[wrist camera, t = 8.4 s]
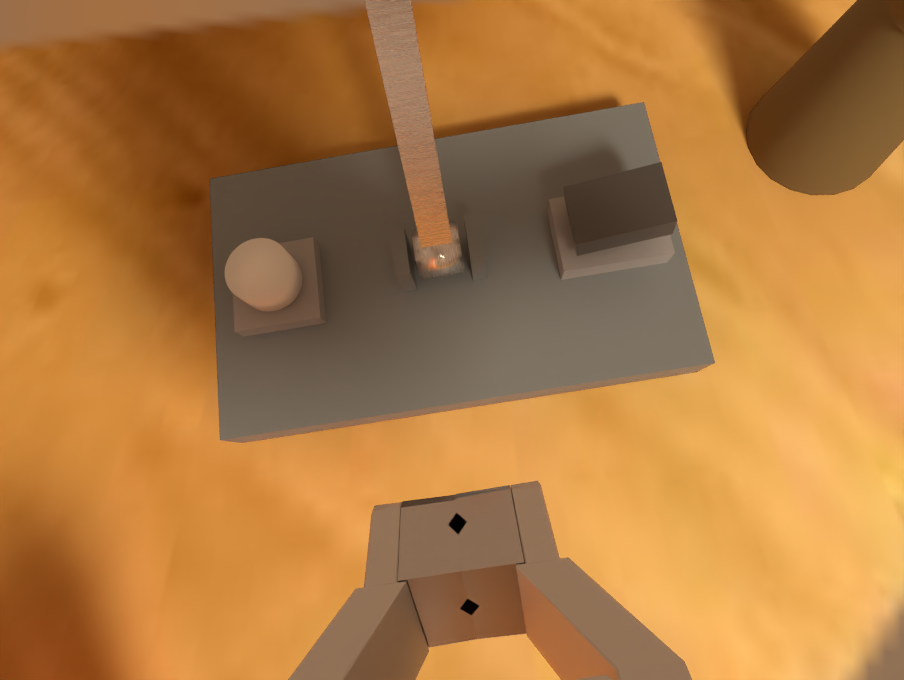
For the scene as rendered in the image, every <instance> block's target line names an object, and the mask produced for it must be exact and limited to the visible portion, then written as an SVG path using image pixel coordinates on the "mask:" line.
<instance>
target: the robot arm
mask: <svg viewBox="0 0 904 680" xmlns="http://www.w3.org/2000/svg"><path fill="white" fill-rule="evenodd" d="M526 633H527V636H528V638H529V639H530V640H531V641H532V643H533V644H534V645H535V647H536V648H537V649H538V650H539V652H540V653H541V654H542V656H543V657H544V658H545V659H546V661H547V662H548V663H549V664H550V666H551V667H552V668H553V670H554V671H555V672H556V673H557V675H558V676H559V677H560V678H561V680H692V678H691V676H690V674H689V671H688V669H687V666H686V664H685V662H684V661H683V660H682V659H681V658H680V657H679V656H678V655H677V654H675V653H674V652H673V651H672V650H671V649H670V648H669V647H668V646H667V645H665V644H664V643H663V642H662V641H661V640H660V639H659V638H658V637H656V636H655V635H654V634H653V633H652V632H651V631H650V630H649V629H648V628H646V627H645V626H644V625H643V624H642V623H641V622H640V621H639V620H638V619H636V618H635V617H634V616H633V615H632V614H631V613H630V612H629V611H627V610H626V609H625V608H624V607H623V606H622V605H621V604H620V603H619V602H617V601H616V600H615V599H614V598H613V597H612V596H611V595H610V594H609V593H607V592H606V591H605V590H604V589H603V588H602V587H601V586H600V585H598V584H597V583H596V582H595V581H594V580H593V579H592V578H591V577H590V576H588V575H587V574H586V573H585V572H584V571H583V570H582V569H581V568H580V567H578V566H577V565H576V564H575V563H574V562H573V561H572V560H571V559H569V558H559V554H558V551H557V547H556V543H555V539H554V535H553V531H552V527H551V523H550V519H549V516H548V512H547V508H546V504H545V500H544V496H543V492H542V488H541V485H540V483H539V482H538V481H534V482H528V483H521V484H515V485H511V488H510V485H508V486H502V487H496V488H490V489H484V490H478V491H472V492H466V493H460V494H456V495H450V496H442V497H435V498H427V499H419V500H411V501H403V502H399V503H391V504H384V505H376V506H375V507H374V509H373V511H372V514H371V524H370V534H369V543H368V553H367V563H366V572H365V582H364V587H363V588H357V589H355V590H354V592H353V593H352V594H351V596H350V597H349V598H348V600H347V601H346V602H345V604H344V605H343V606H342V608H341V609H340V610H339V612H338V613H337V615H336V616H335V617H334V619H333V620H332V621H331V623H330V624H329V625H328V627H327V628H326V629H325V631H324V632H323V633H322V635H321V636H320V637H319V639H318V640H317V642H316V643H315V644H314V646H313V647H312V648H311V650H310V651H309V652H308V654H307V655H306V656H305V658H304V659H303V660H302V662H301V663H300V665H299V666H298V667H297V669H296V670H295V671H294V673H293V674H292V675H291V677H290V678H289V679H288V680H415V679H416V677H417V675H418V673H419V671H420V669H421V667H422V664H423V662H424V660H425V658H426V656H427V654H428V652H429V649H428V647H434V646H439V645H445V644H451V643H457V642H463V641H469V640H474V639H482V638H491V637H500V636H508V635H517V634H526Z"/></svg>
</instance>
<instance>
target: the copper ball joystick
mask: <svg viewBox="0 0 904 680" xmlns="http://www.w3.org/2000/svg"><path fill="white" fill-rule="evenodd" d="M365 5H366V9H367V13H368V18H369V22H370V26H371V31H372V35H373V40H374V44H375V48H376V53H377V57H378V61H379V66H380V70H381V74H382V79H383V83H384V87H385V92H386V96H387V100H388V105H389V109H390V113H391V118H392V122H393V127H394V131H395V135H396V140H397V144H398V148H399V153H400V157H401V161H402V166H403V170H404V174H405V179H406V183H407V187H408V192H409V196H410V201H411V205H412V209H413V214H414V218H415V222H416V227H417V229H416V230H412V240H413V248H414V254H415V259H416V264H417V269H418V273H419V277H420V279H421V280H422V279H428V278H434V277H440V276H446V275H452V274H458V273H464V272H465V271H464V264H463V258H462V252H461V245H460V239H459V233H458V227H457V223H451V224H449V219H448V213H447V207H446V202H445V196H444V190H443V184H442V178H441V172H440V167H439V161H438V155H437V149H436V143H435V137H434V132H433V126H432V120H431V114H430V108H429V102H428V97H427V91H426V85H425V79H424V73H423V67H422V62H421V56H420V50H419V44H418V38H417V32H416V27H415V21H414V15H413V9H412V3H411V0H365Z"/></svg>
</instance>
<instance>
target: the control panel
mask: <svg viewBox="0 0 904 680" xmlns="http://www.w3.org/2000/svg"><path fill="white" fill-rule="evenodd" d="M435 143H436V149H437V155H438V161H439V167H440V172H441V178H442V184H443V190H444V196H445V202H446V207H447V213H448V219H449V224H451V223H457V227H458V233H459V239H460V245H461V252H462V258H463V264H464V271H465V272H464V273H458V274H452V275H446V276H440V277H434V278H428V279H422V280H421V279H420V277H419V273H418V269H417V264H416V259H415V254H414V248H413V240H412V230H416V229H417V227H416V222H415V218H414V214H413V209H412V205H411V201H410V196H409V192H408V187H407V183H406V179H405V174H404V170H403V166H402V161H401V157H400V153H399V148H398V146H393V147H387V148H381V149H376V150H370V151H364V152H359V153H353V154H347V155H342V156H336V157H330V158H325V159H319V160H313V161H308V162H302V163H296V164H291V165H285V166H279V167H274V168H268V169H262V170H257V171H251V172H245V173H240V174H234V175H228V176H223V177H217V178H211V179H210V201H211V226H212V252H213V277H214V302H215V327H216V353H217V378H218V403H219V429H220V440H222V441H230V442H239V443H245V442H251V441H257V440H264V439H270V438H277V437H283V436H289V435H296V434H302V433H309V432H315V431H322V430H328V429H334V428H341V427H347V426H354V425H360V424H366V423H373V422H379V421H386V420H392V419H398V418H405V417H411V416H418V415H424V414H430V413H437V412H443V411H450V410H456V409H463V408H469V407H475V406H482V405H488V404H495V403H501V402H507V401H514V400H520V399H527V398H533V397H539V396H546V395H552V394H559V393H565V392H571V391H578V390H584V389H591V388H597V387H603V386H610V385H616V384H623V383H629V382H636V381H642V380H648V379H655V378H661V377H668V376H674V375H680V374H687V373H693V372H698V371H700V370H702V369H704V368H706V367H708V366H710V365H712V364H714V363H715V361H714V358H713V354H712V350H711V347H710V343H709V339H708V335H707V332H706V328H705V324H704V321H703V317H702V313H701V310H700V306H699V302H698V299H697V295H696V291H695V288H694V284H693V280H692V277H691V273H690V269H689V266H688V262H687V258H686V255H685V251H684V247H683V244H682V240H681V236H680V233H679V229H678V225H677V223H676V226H675V229H674V231H673V234H671V235H666V236H662V237H658V238H653V239H649V240H644V241H640V242H636V243H631V244H627V245H623V246H618V247H614V248H609V249H605V250H601V251H596V252H592V253H588V254H583V255H579V256H577V255H576V250H575V245H574V241H573V236H572V232H571V227H570V222H569V218H568V213H567V209H566V204H565V198H564V189H563V187H565V186H569V185H573V184H577V183H581V182H585V181H589V180H593V179H596V178H600V177H604V176H608V175H612V174H616V173H620V172H624V171H628V170H632V169H636V168H639V167H643V166H647V165H651V164H655V163H659V162H660V159H659V155H658V152H657V148H656V144H655V141H654V137H653V133H652V130H651V126H650V122H649V119H648V115H647V111H646V108H645V104H644V102H642V103H636V104H630V105H625V106H619V107H613V108H608V109H602V110H596V111H591V112H585V113H579V114H574V115H568V116H562V117H557V118H551V119H545V120H540V121H534V122H529V123H523V124H517V125H512V126H506V127H500V128H495V129H489V130H483V131H478V132H472V133H466V134H461V135H455V136H449V137H444V138H438V139H435ZM255 238H267V239H271V240H274V241H276V242H277V243H279V244H280V245H281V246H282V247H283V248H284V249H285V250H286V251H287V252H288V253H289V254H290V255H291V256H292V257H293V258H294V259H295V260H296V262H297V263H298V264H299V266H300V268H301V271H302V279H303V280H302V286H301V289H300V292H299V294H298V295H297V297H296V298H295V299H294V300H293V302H291V303H290V304H289V305H288V306H286V307H284V308H282V309H280V310H277V311H271V312H265V311H260V310H257V309H255V308H253V307H252V306H250V305H249V304H247V303H246V302H244V301H243V300H241V299H240V298H239V297H237V296H236V295H234V294H233V293H232V292H231V291H230V289H229V288H228V286H227V284H226V280H225V266H226V262H227V260H228V258H229V256H230V255H231V253H232V252H233V251H234V250H235V249H236V248H237V247H238V246H239V245H241V244H242V243H244V242H246V241H248V240H251V239H255Z"/></svg>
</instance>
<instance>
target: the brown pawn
mask: <svg viewBox="0 0 904 680" xmlns="http://www.w3.org/2000/svg"><path fill="white" fill-rule="evenodd" d="M746 132H747V141H748V148H749V150H750V152H751V154H752V156H753V158H754V160H755V162H756V164H757V165H758V166H759V167H760V168H761V169H762V170H763V171H764V172H765V173H766V174H767V175H768V176H769V177H770V178H771V179H772V180H774V181H776V182H777V183H779V184H781V185H783V186H784V187H786V188H788V189H790V190H793V191H797V192H801V193H805V194H809V195H834V194H838V193H841V192H844V191H847V190H851V189H854V188H855V187H856V186H858V185H859V184H861V183H862V182H863V181H865V180H866V179H868V178H869V177H870V176H871V175H872V174H873V173H874V172H875V171H876V170H877V168H878V167H879V166H880V165H881V164H882V163H883V162H884V161H885V160H886V159H887V158H888V156H889V155H890V154H891V153H892V152H893V151H894V150H895V149H896V148H897V147H898V145H899V144H900V143H901V142H902V141H903V140H904V0H857V1H856V2H855V3H854V4H853V5H852V6H851V7H850V8H849V9H848V10H847V11H846V12H845V13H844V14H843V15H842V16H841V18H840V19H839V20H838V21H837V22H836V23H835V24H834V25H833V26H832V27H831V28H830V29H829V30H828V31H827V32H826V33H825V34H824V35H823V36H822V37H821V38H820V39H819V40H818V41H817V42H816V43H815V44H814V45H813V46H812V47H811V48H810V49H809V50H808V51H807V52H806V53H805V54H804V55H803V56H802V57H801V58H800V59H799V60H798V61H797V62H796V63H795V64H794V66H793V67H792V68H791V69H790V70H789V71H788V72H787V73H786V74H785V75H784V76H783V77H782V78H781V79H780V80H779V81H778V82H777V83H776V84H775V85H774V86H773V87H772V88H771V89H770V90H769V91H768V92H767V93H766V94H765V95H764V96H763V97H762V98H761V99H760V101H759V102H758V104H757V105H756V106H755V108H754V109H753V110H752V112H751V113H750V117H749V121H748V125H747V129H746Z"/></svg>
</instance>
